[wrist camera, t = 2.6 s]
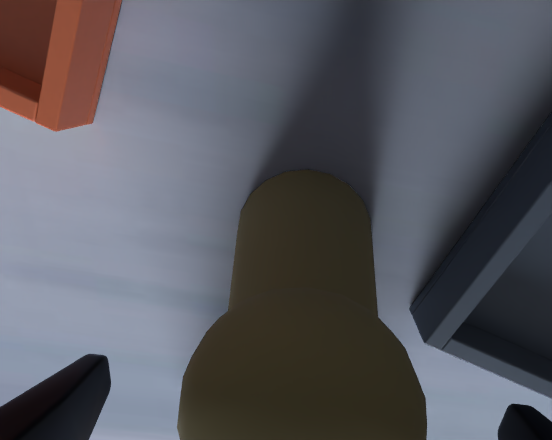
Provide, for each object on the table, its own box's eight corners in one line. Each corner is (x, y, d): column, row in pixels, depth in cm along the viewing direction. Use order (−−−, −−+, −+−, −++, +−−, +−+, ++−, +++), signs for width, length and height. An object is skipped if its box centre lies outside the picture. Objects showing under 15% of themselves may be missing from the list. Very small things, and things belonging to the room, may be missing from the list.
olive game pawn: (395, 198, 16) (561, 432, 5) (338, 308, 18) (379, 617, 8) (263, 148, 15) (174, 296, 5) (221, 266, 18) (102, 532, 7)
